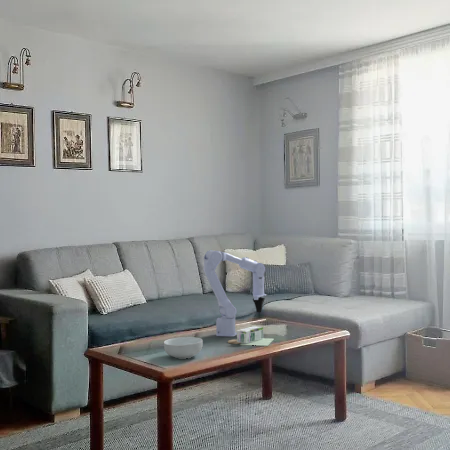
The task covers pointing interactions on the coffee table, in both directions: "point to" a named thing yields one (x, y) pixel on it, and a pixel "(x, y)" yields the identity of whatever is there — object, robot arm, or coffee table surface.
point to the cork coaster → (233, 341)
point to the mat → (259, 342)
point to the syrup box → (249, 334)
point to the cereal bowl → (183, 347)
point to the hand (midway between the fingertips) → (259, 312)
